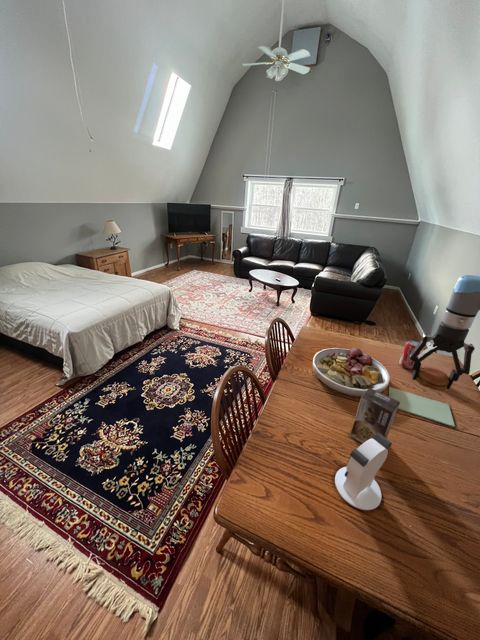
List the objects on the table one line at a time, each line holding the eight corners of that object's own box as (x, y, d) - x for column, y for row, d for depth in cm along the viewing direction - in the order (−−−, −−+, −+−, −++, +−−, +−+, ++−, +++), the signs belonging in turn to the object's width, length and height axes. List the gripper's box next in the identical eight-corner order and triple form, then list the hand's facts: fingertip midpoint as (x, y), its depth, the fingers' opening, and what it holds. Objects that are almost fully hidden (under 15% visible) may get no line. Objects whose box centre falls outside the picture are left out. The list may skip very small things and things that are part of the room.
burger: (451, 394, 89) (457, 382, 87) (420, 389, 90) (425, 377, 88) (438, 376, 97) (442, 365, 95) (410, 372, 99) (414, 361, 97)
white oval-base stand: (354, 459, 78) (366, 420, 71) (391, 493, 69) (410, 453, 63) (325, 479, 71) (337, 439, 65) (363, 519, 63) (380, 478, 57)
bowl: (381, 412, 95) (388, 395, 92) (301, 382, 109) (304, 366, 105) (389, 371, 118) (394, 356, 115) (322, 350, 132) (325, 336, 129)
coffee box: (386, 442, 84) (401, 402, 77) (378, 454, 79) (394, 413, 73) (357, 424, 89) (369, 386, 83) (348, 435, 85) (360, 395, 78)
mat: (448, 405, 100) (448, 404, 100) (454, 427, 90) (455, 426, 90) (389, 387, 108) (389, 386, 108) (388, 406, 98) (389, 405, 98)
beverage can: (397, 366, 122) (406, 343, 117) (399, 360, 127) (407, 338, 122) (413, 371, 119) (422, 348, 114) (414, 365, 124) (423, 342, 119)
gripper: (415, 321, 85) (394, 378, 95) (504, 339, 77) (471, 399, 86) (413, 313, 91) (394, 367, 101) (495, 328, 83) (466, 386, 92)
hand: (430, 382), depth 94 cm, fingers closed on burger, 9 cm apart
